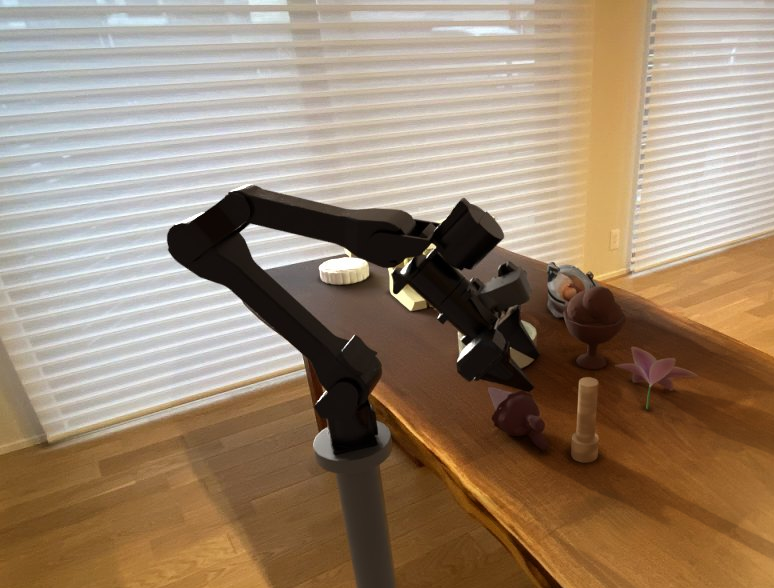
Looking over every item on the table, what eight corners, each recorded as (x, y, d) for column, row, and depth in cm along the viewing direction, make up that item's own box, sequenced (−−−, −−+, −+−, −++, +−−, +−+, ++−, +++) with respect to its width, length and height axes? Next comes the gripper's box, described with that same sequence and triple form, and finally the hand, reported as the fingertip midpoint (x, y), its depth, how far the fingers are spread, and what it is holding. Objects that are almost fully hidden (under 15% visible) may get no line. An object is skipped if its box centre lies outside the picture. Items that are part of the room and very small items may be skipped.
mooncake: (310, 278, 154) (308, 264, 153) (348, 266, 163) (346, 252, 161) (341, 288, 148) (339, 274, 146) (379, 275, 156) (377, 261, 154)
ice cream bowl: (630, 357, 115) (637, 280, 108) (605, 382, 107) (611, 301, 99) (579, 344, 120) (582, 270, 112) (551, 367, 112) (553, 289, 104)
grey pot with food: (621, 315, 132) (617, 270, 120) (576, 345, 130) (567, 302, 119) (580, 277, 140) (572, 232, 129) (537, 305, 138) (525, 261, 127)
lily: (702, 412, 100) (706, 353, 100) (661, 410, 92) (666, 346, 92) (640, 407, 108) (644, 352, 108) (598, 404, 100) (602, 346, 100)
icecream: (464, 382, 94) (518, 435, 84) (504, 360, 96) (562, 409, 86) (474, 414, 98) (526, 468, 88) (512, 392, 101) (567, 442, 90)
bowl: (474, 381, 107) (473, 355, 105) (449, 348, 119) (448, 324, 117) (548, 365, 112) (549, 341, 110) (518, 335, 124) (517, 312, 121)
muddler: (578, 465, 86) (582, 391, 80) (566, 450, 89) (569, 378, 83) (602, 458, 87) (608, 385, 81) (589, 444, 90) (594, 372, 84)
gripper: (479, 275, 67) (577, 369, 71) (502, 229, 83) (581, 308, 87) (415, 338, 72) (510, 423, 76) (449, 282, 88) (526, 355, 92)
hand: (535, 372), depth 83 cm, fingers open, 9 cm apart
